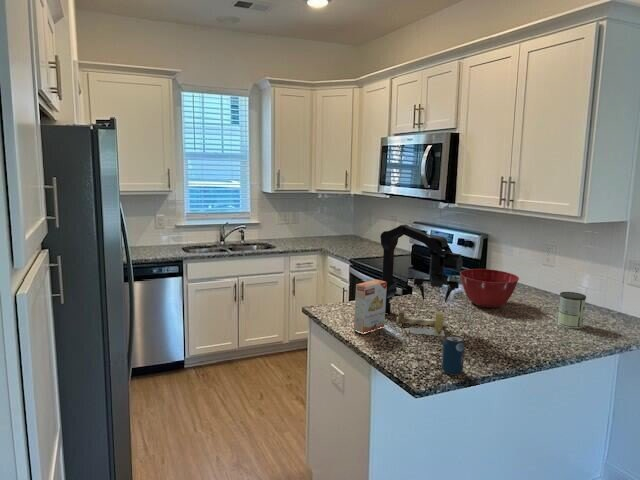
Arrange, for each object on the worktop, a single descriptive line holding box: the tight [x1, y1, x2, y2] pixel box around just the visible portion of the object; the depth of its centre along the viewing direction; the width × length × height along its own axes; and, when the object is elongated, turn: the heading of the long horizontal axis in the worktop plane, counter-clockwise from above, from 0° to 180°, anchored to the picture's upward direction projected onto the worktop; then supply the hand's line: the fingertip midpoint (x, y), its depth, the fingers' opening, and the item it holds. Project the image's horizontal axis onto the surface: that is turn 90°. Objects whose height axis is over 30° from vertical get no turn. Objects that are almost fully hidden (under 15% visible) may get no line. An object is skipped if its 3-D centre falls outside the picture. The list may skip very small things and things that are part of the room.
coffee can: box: [557, 291, 587, 329], centre depth 209 cm, size 10×10×14 cm
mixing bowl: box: [459, 268, 520, 309], centre depth 239 cm, size 28×28×16 cm
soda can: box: [441, 334, 466, 376], centre depth 158 cm, size 7×7×12 cm
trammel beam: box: [396, 310, 444, 328], centre depth 202 cm, size 20×10×6 cm, turn 79°
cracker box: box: [353, 279, 387, 333], centre depth 196 cm, size 14×6×21 cm, turn 134°
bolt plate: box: [408, 326, 446, 338], centre depth 197 cm, size 20×7×1 cm, turn 79°
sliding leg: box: [434, 311, 444, 331], centre depth 200 cm, size 3×11×7 cm, turn 169°
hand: (434, 301), depth 202 cm, fingers open, 9 cm apart
